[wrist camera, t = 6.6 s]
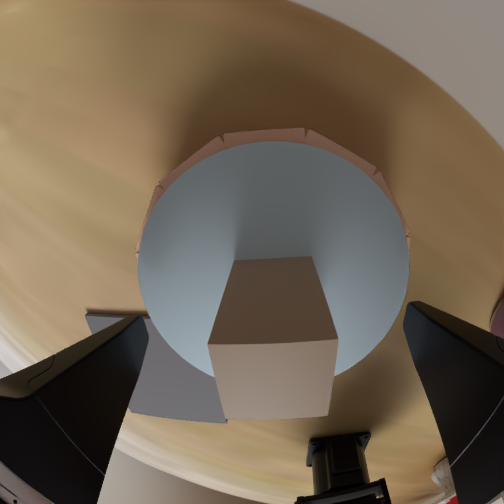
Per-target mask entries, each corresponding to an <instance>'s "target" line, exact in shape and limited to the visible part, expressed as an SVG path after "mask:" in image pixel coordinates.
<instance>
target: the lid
mask: <svg viewBox="0 0 504 504" xmlns="http://www.w3.org/2000/svg"><path fill="white" fill-rule="evenodd" d="M138 278H139V285H140V290H141V295H142V298H143V301H144V304H145V307H146V310H147V312H148V314H149V316H150V318H151V320H152V322H153V324H154V325H155V327H156V328H157V330H158V331H159V333H160V334H161V336H162V337H163V338H164V340H165V341H166V342H167V343H168V344H169V345H170V347H171V348H172V349H173V350H174V351H176V352H177V353H178V354H179V355H180V356H181V357H182V358H183V359H185V360H186V361H187V362H189V363H190V364H191V365H193V366H194V367H196V368H198V369H199V370H201V371H203V372H204V373H206V374H208V375H210V376H213V377H215V380H216V384H217V388H218V392H219V396H220V400H221V404H222V408H223V411H224V415H225V419H241V420H268V419H294V418H309V417H320V416H328V411H329V405H330V399H331V393H332V387H333V380H334V376H336V375H338V374H340V373H342V372H344V371H345V370H347V369H349V368H351V367H352V366H353V365H355V364H356V363H358V362H359V361H361V360H362V359H363V358H364V357H365V356H367V355H368V354H369V353H370V352H371V351H372V350H373V349H374V348H375V347H376V346H377V345H378V344H379V343H380V341H381V340H382V339H383V338H384V337H385V335H386V334H387V332H388V331H389V329H390V328H391V327H392V325H393V323H394V321H395V319H396V317H397V316H398V314H399V311H400V309H401V306H402V303H403V301H404V298H405V294H406V290H407V285H408V278H409V250H408V245H407V240H406V235H405V231H404V229H403V226H402V223H401V221H400V218H399V216H398V214H397V212H396V210H395V208H394V207H393V205H392V203H391V201H390V200H389V198H388V197H387V196H386V194H385V193H384V192H383V191H382V189H381V188H380V187H379V186H378V185H377V184H376V183H375V182H374V181H373V180H372V179H371V178H370V177H369V176H368V175H367V174H366V173H365V172H363V171H362V170H361V169H359V168H358V167H356V166H355V165H353V164H352V163H350V162H349V161H348V160H346V159H344V158H342V157H339V156H337V155H335V154H333V153H331V152H329V151H326V150H323V149H320V148H317V147H314V146H310V145H306V144H300V143H293V142H286V141H263V142H256V143H249V144H243V145H239V146H236V147H232V148H229V149H226V150H223V151H220V152H218V153H216V154H214V155H212V156H209V157H207V158H205V159H203V160H202V161H200V162H198V163H197V164H195V165H194V166H192V167H191V168H190V169H188V170H187V171H185V172H184V173H183V174H182V175H181V176H180V177H179V178H177V179H176V180H175V181H174V182H173V183H172V184H171V185H170V186H169V187H168V189H167V190H166V191H165V192H164V194H163V195H162V196H161V197H160V199H159V200H158V202H157V203H156V205H155V207H154V208H153V210H152V212H151V214H150V215H149V218H148V220H147V223H146V225H145V228H144V230H143V234H142V238H141V242H140V246H139V255H138Z"/></svg>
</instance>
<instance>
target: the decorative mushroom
mask: <svg viewBox="0 0 504 504" xmlns="http://www.w3.org/2000/svg"><path fill="white" fill-rule="evenodd" d="M431 477H432V480H433V481H434V482H435V483H436V484H437V485H439V486H440V487H441V488H442V489H443V490H444V491H445V496H444V497H442V498H441V499H439V500H438V501H436V502H434V503H433V504H458V500H457V496H456V491H455V487H454V483H453V478H452V474H451V471H450V466H449V462H448V459H447V457H446V458H445V459H443V460H442V461H440V462H439V463H438V464H437V465H436V466H435V468H434V470H433V473H432V476H431Z"/></svg>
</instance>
